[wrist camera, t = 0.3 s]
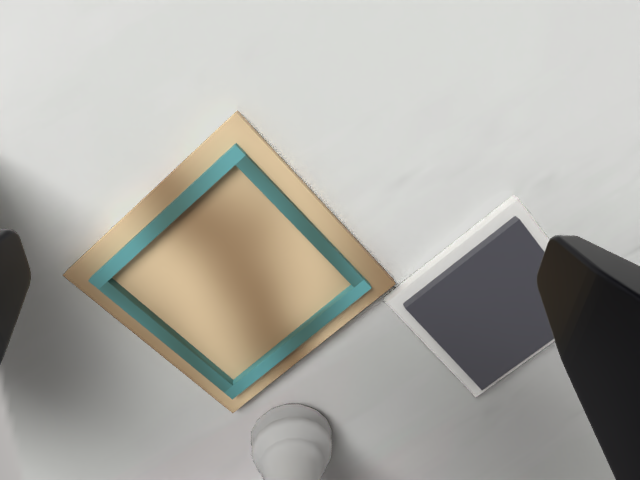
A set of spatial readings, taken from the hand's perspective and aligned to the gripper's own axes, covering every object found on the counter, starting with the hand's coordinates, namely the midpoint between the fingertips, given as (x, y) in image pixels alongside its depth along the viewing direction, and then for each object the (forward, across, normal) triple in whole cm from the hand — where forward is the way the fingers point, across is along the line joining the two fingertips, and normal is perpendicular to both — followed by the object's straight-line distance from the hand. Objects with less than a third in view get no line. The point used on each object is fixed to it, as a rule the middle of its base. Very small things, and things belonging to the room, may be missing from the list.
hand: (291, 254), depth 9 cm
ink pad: (+13, -10, +12) cm, 21 cm away
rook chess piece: (+11, 0, +20) cm, 23 cm away
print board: (+13, +3, +10) cm, 17 cm away
